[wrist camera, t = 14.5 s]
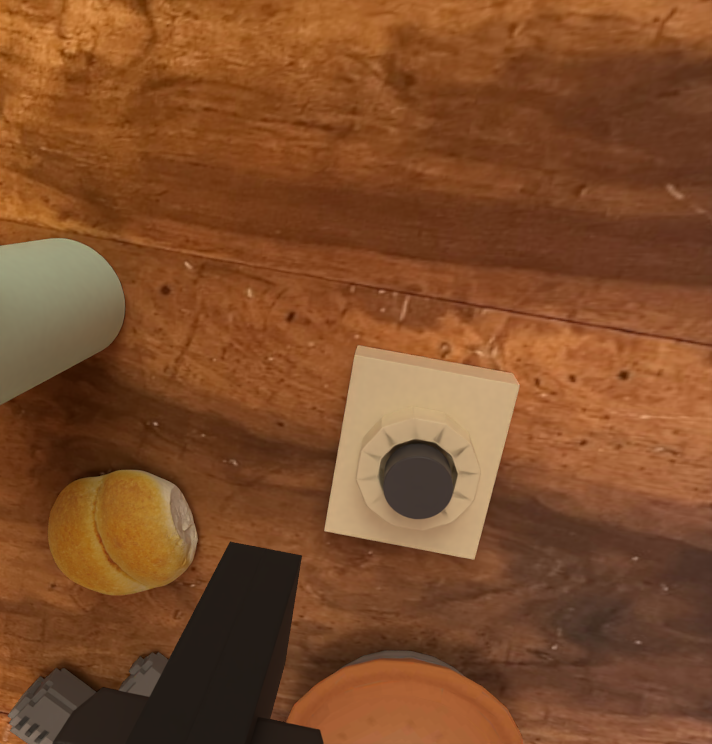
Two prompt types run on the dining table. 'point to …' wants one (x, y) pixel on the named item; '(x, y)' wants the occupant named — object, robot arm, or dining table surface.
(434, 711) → the pie
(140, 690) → the toy gun
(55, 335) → the spray bottle
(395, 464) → the timer button
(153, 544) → the bread roll
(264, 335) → the dining table surface
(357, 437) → the timer
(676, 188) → the dining table surface
